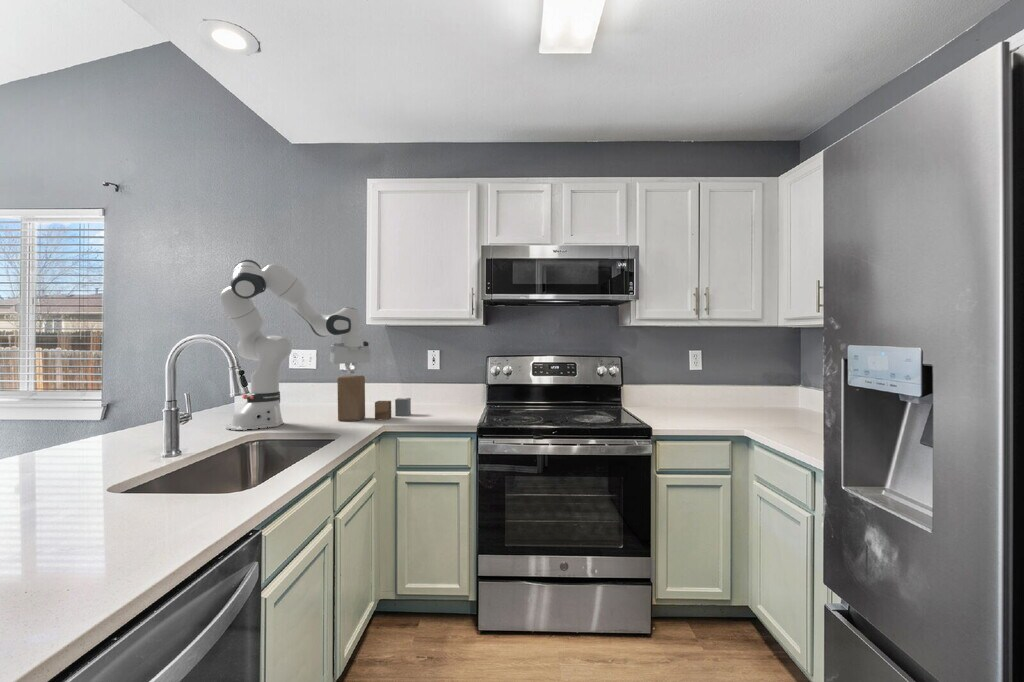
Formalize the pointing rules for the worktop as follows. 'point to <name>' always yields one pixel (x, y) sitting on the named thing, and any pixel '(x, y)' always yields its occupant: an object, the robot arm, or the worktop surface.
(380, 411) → the brown upright block
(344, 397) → the block
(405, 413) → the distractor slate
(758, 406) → the worktop surface
